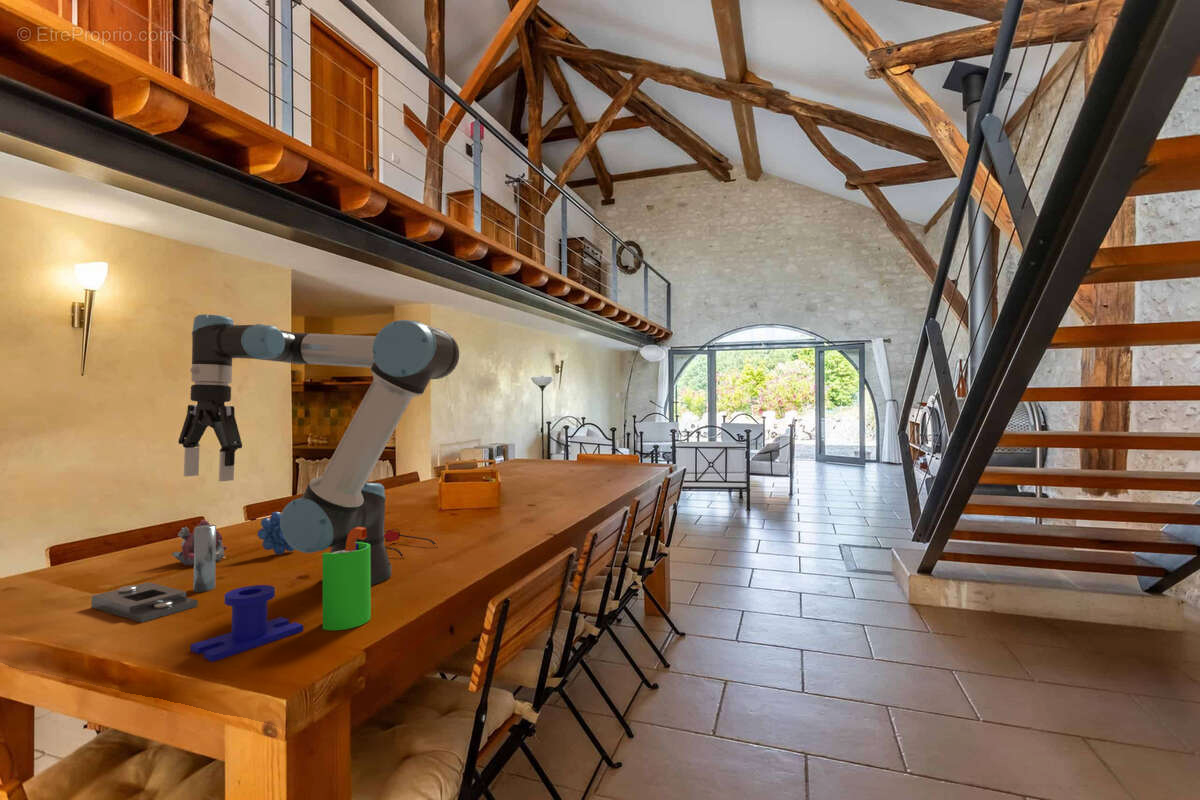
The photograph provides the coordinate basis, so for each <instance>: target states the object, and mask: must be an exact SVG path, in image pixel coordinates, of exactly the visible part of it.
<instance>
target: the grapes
mask: <svg viewBox="0 0 1200 800" xmlns="http://www.w3.org/2000/svg"><path fill="white" fill-rule="evenodd" d="M281 514H282V512H279V511H274V512H272V513H271V514H270V517H264V518H262V519H261V521H260V526H261V527H262V528H260V529H259V530H258V531H257V535H256V536H258V538H259V540H263V541H262V544H261V545H262V547H263V549H265V550H266V551H270V550H273V552H274V553H275V554H276V555H282V554H284V553H285V552H286V551H287V552H293V551H295V550H296V549H294V548H293V547H291V546H290V545H289V544H288V543H287V541H286V540H285V538H284V536H283V531H282V530H281V527H280V518H281Z"/></svg>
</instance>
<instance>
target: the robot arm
mask: <svg viewBox="0 0 1200 800" xmlns="http://www.w3.org/2000/svg"><path fill="white" fill-rule="evenodd" d="M191 339H192V340H191V341H192V347H191V368H190V372H191V377H190V379H191V382H193V383H194V384H192V385H190V398H189V399H190V401H192V402H197V404H188V405H187V408H186V409H187V410H186V416H185V419H184V422H183V426H182V429H181V432H180V435H179V437H178V444H179V445H182V447H183V448H184V456H183V457H184V463H183V477H195V476H196V477H197V476H199V470H200V469H199V468H200V447H201V445H200V443H199V442H200V441H201V439H202V438H203V436H204V433H205V432H206V429H207V428H208V427H210V428H211V429H213V432H214V433H215V436H216V439H217V440H218V442H219V445H220V447H221V448H220V449H219V465H218V466H219V468H218V482H230V481H234V480H235V477H234V476H235V460H236V459H235V456H236V455H235V454H236V451H237V450H238V449H242V448H243V442H242V439H241V434H240V431H239V427H238V424H237V420H236V415H235V412H236V411H235V407H234V406H233V405H229V406H228V405H225V403H228V402H230V401H231V400H232V386H230V385H229V384H232V381H233V379H232V377H233V376H232V375H233V359H249V360H250V359H251V360H252V359H253V360H260V361H261V360H262V361H268V362H269V361H270V362H279V363H280V362H281V363H286V364H287V363H288V364H294V365H321V366H322V365H323V366H335V367H336V366H340V367H352V368H353V367H355V368H356V367H357V368H358V367H359V368H369V369H370V373H371V374H372V377H373V380H372V382H371V384H370V386H369V388H368V389H367V391H366V392H365V395H364V396H363V399H362V401H361V402H360V405H359V406H358V408H357V410H356V411H355V414H354V416H353V417H352V419H351V421H350V423H349V424H348V426H347V429H346V430H345V432H344V434H343V436H342V438H341V440H340V441H339V443H338V445H337V447H336V449H335V451H334V453H333V455H332V456H331V458H330V459H329V462H328V464H327V465H326V467H325V469H324V471H323V473H322V475H320V476H316V477H313V478H311V480H310V481H309V483H308V485H307V486H306V488H305V491H304V492H303V494H302V496H301V497H298V498H295V499H293V500H292V501H289V502H288V503H287V504H286V505H285V506H284V508H283V509H282V512H281V518H280V527H281V530H282V531H283V536H284V538H285V540H286V541H287V543H288V544H289V545H290V546H291V547H293V548H294V549H295V550H296V551H298V552H301V553H304V554H312V553H317V552H322V551H326V550H327V549H328V548H331V549H330V552H329V553H333V552H337V551H343V550H345V548H346V542H347V537H348V534H349V532H350V530H352V529H354V528H356V527H364V528H366V538H364V539H356V542H364V543H368V544H370V556H371V586H372V585H376V584H379V583H382V582H385V581H387V580H388V579H390V578H391V577H392V563H391V562H390V560H389V559H390V558H389V555H388V552H387V549H386V548H385V547H386V546H385V538H384V535H385V532H384V531H385V522H386V520H385V517H386V514H385V513H386V511H385V510H386V506H385V505H386V504H385V503H386V494H385V492H386V491H385V486H384V485H383V484H382V483H380V482H379V483H378V482H367V481H368V479H369V478H370V476H371V474H372V472H373V471H374V468H375V466H376V464H377V463H378V461H379V459H380V457H381V455H382V454H383V453H384V450H385V448H386V446H387V444H388V443H389V441H390V439H391V437H392V435H393V434H394V432H395V430H396V428H397V427H398V424H399V423H400V421H401V419H402V417H403V415H404V413H405V412H406V409H407V407H408V406H409V404H410V403H411V401H412V399H413V398H415V397H418V396H422V395H423V394H424V393H425V390H426V389H427V387H428V385H429V383H430V381H431V380H439V379H443V378H445V377H447V376H449V375H450V374H452V372H453V371H454V370H455V369H456V367H457V366H458V363H459V359H460V350H459V348H460V347H459V345H458V343H457V341H456V339H455V338H454V337H453V336H452V334H451V333H448V332H447V331H446V330H443V329H441V328H437V327H434V326H431V325H428V324H426V323H422V322H420V321H419V320H418V321H417V320H409V319H398V320H395V321H392V322H390V323H388V324H386V325H385V326H384V327H382V328H381V329H380V330H379V331H378V333H377V334H376V336H373V335H354V334H353V335H351V334H350V335H349V334H331V333H330V334H329V333H328V334H327V333H310V332H309V333H308V332H295V331H294V332H293V331H287V330H281V329H279V328H278V327H277V326H274V325H268V324H261V323H260V324H259V323H255V324H234V320H233V318H231V317H229V316H225V315H218V314H198V315H196V316H195V317H194V319H193V324H192V332H191ZM390 576H391V577H390Z"/></svg>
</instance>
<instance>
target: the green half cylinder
mask: <svg viewBox="0 0 1200 800" xmlns="http://www.w3.org/2000/svg"><path fill="white" fill-rule="evenodd" d="M364 538H366V528H364V527H356V528H354V529H352V530H350V532H349V534H348V537H347V542H346V548H345V550H343V551H337V552H333V553H330V552H322V630H325V631H343V630H349V629H350V630H351V629H353V628H357V627H360V626H362V625H365V624H366V623H368V622H369V621H370V620H371V618H372V617H371V615H372V614H371V613H372V611H371V610H372V609H371V608H372V607H371V606H372V604H371V603H372V602H371V598H372V597H371V595H372V594H371V593H372V592H371V591H372V590H371V589H372V588H371V587H372V585H371V556H370V544H368V543H364V542H356V539H364Z"/></svg>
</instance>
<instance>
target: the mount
mask: <svg viewBox="0 0 1200 800" xmlns="http://www.w3.org/2000/svg"><path fill="white" fill-rule="evenodd" d="M275 589H276V587H275V586H272V585H267V584H256V585H249V586H242V587H237V588H234V589H232V590H229V591H227V592H226V593H225V594H224V605H226V606H229V607H231V609H232V610H231V632H228V633H224V634H221V635H218V636H215V637H211V638H207V639H205V640H201V641H198V642H195V643H191V644H190V652H192V651H193V652H192V653H194V652H195V653H194V654H196V653H197V654H196V655H198V654H199V655H201V653H203V659H205V658H206V659H205V660H207V661H209V662H211V663H213V662H216V661H219V660H222V659H225V658H228V657H231V656H234V655H237V654H241V653H242V652H246V651H248V650H251V649H254V648H257V647H260V646H263V645H266V644H269V643H270V644H271V643H272V642H276V641H278V640H281V639H284V638H287V637H289V636H292V635H296V634H299V633H301V632H304V625H303V624H300V623H298V622H296V621H294V622H291V623H290V619H288V618H285V617H283V616H278V617H277V618H274V619H270V620H268V601H270V600H272V599H274V598H275V593H276V591H275Z"/></svg>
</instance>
